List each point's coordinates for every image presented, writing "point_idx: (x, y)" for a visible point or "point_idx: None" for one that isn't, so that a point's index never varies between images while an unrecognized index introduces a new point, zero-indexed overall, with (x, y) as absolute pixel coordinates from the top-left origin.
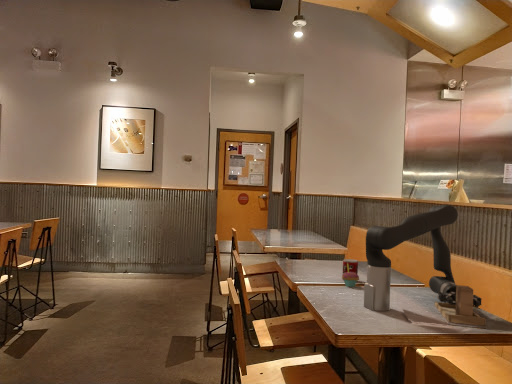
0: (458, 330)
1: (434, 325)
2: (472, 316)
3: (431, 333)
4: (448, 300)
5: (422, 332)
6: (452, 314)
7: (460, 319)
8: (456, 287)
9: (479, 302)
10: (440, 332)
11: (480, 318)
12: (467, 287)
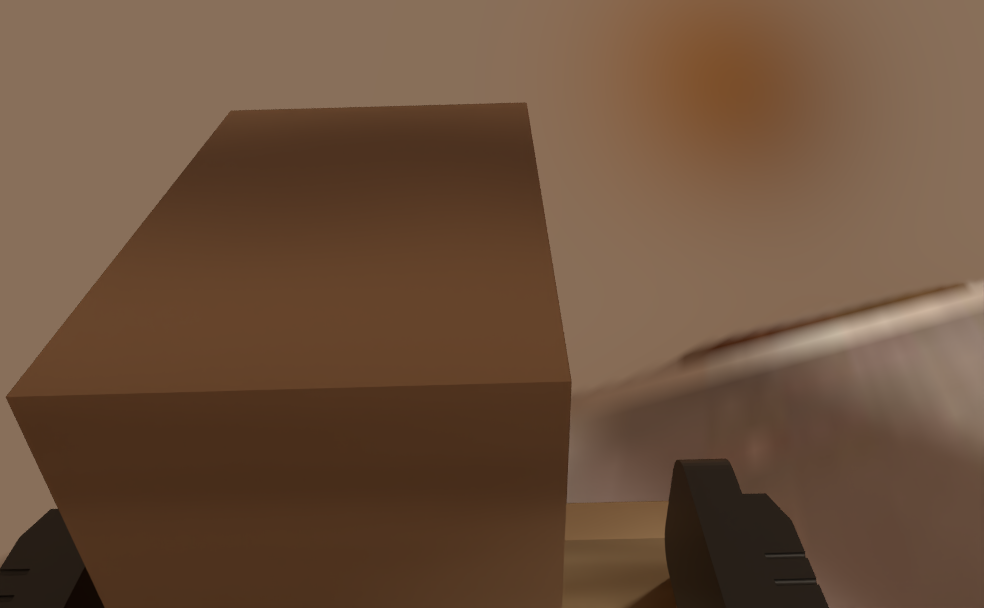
0: (590, 462)
1: (868, 534)
2: None
3: (841, 326)
4: (773, 527)
5: (917, 324)
6: (656, 535)
7: None
8: (565, 447)
9: (53, 509)
10: (770, 364)
11: None
12: (255, 206)
